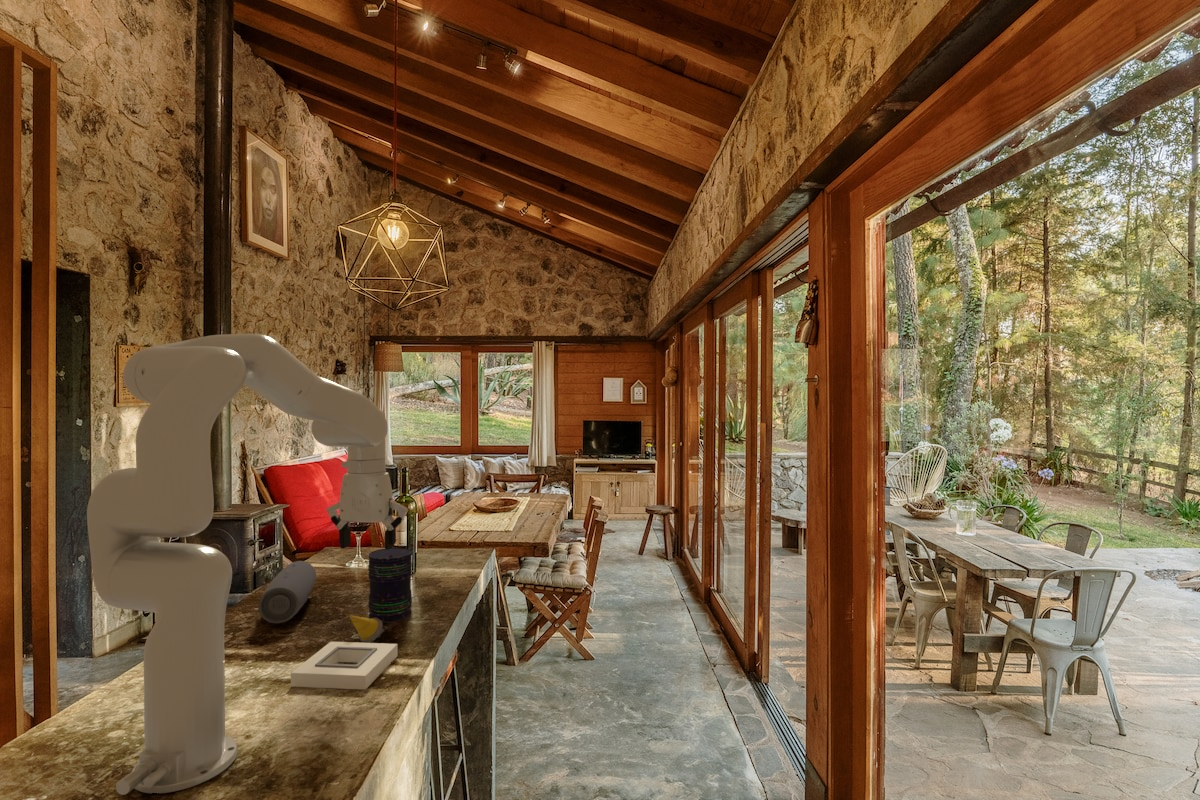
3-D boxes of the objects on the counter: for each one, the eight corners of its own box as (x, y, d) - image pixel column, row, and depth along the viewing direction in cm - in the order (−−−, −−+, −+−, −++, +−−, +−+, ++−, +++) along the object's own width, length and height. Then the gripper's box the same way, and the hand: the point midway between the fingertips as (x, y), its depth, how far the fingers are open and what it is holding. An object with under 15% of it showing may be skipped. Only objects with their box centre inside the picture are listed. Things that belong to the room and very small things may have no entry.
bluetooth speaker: (279, 598, 160) (279, 559, 159) (318, 595, 162) (318, 557, 162) (255, 631, 138) (255, 586, 138) (300, 627, 140) (300, 583, 140)
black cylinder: (368, 610, 150) (368, 549, 150) (410, 605, 154) (410, 546, 153) (368, 625, 141) (368, 560, 141) (413, 619, 144) (413, 556, 144)
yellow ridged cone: (389, 644, 132) (357, 622, 126) (368, 652, 133) (336, 631, 127) (392, 622, 136) (362, 600, 130) (372, 630, 137) (341, 609, 131)
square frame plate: (365, 689, 111) (365, 674, 110) (290, 686, 112) (290, 671, 112) (397, 656, 124) (397, 642, 124) (330, 653, 126) (330, 640, 126)
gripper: (318, 469, 128) (319, 551, 128) (399, 469, 126) (400, 553, 127) (336, 464, 135) (337, 542, 135) (413, 465, 134) (414, 543, 134)
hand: (367, 547), depth 131 cm, fingers open, 9 cm apart
